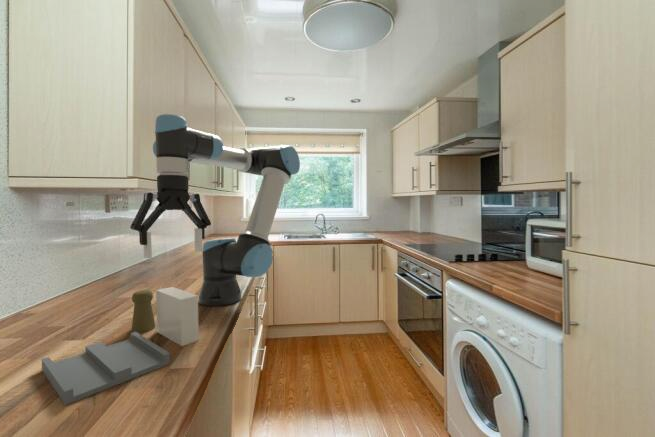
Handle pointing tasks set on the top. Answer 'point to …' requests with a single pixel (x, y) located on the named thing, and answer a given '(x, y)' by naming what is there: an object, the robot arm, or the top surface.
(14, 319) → the top surface
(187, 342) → the clay block
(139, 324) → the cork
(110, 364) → the grey grooved stand
